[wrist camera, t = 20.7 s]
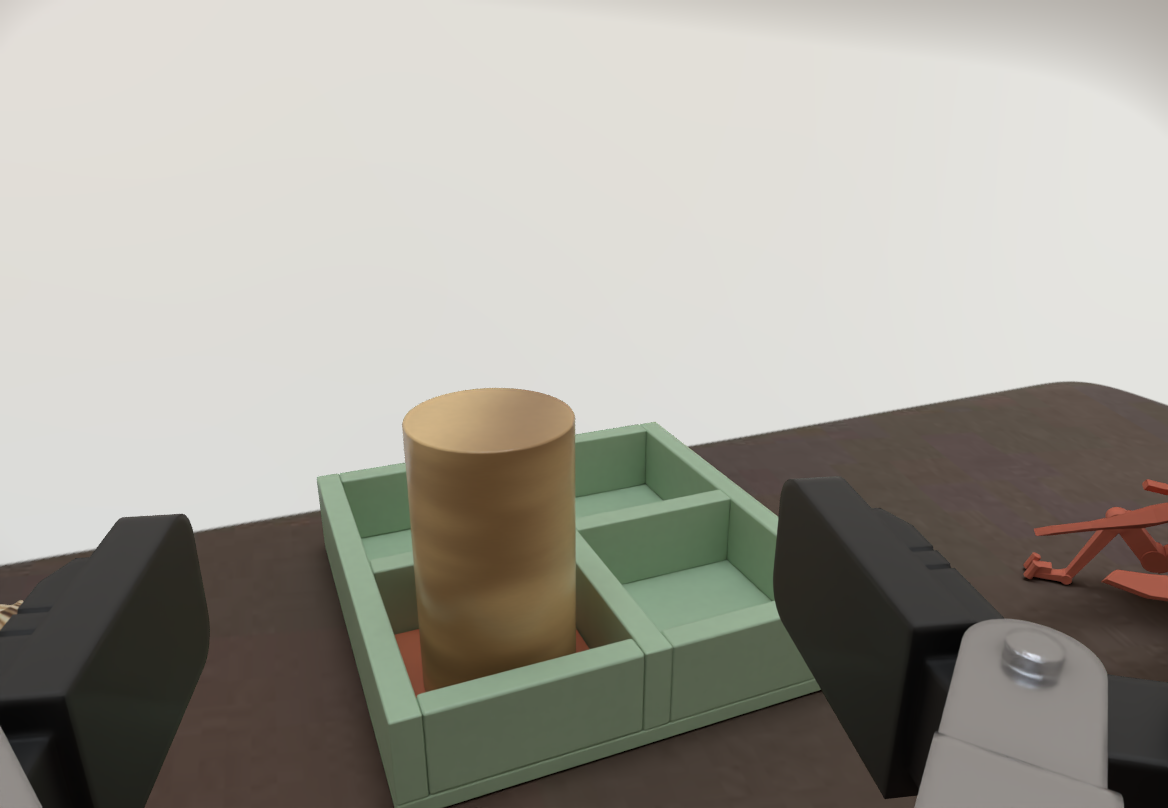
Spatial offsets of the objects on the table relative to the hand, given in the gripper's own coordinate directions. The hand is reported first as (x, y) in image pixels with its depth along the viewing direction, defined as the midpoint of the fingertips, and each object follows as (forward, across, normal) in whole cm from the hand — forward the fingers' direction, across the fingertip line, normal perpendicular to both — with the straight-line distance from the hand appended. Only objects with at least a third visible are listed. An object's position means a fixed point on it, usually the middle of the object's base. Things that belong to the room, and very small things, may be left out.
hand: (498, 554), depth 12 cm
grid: (+14, -2, +11) cm, 18 cm away
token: (+10, 0, +10) cm, 14 cm away
